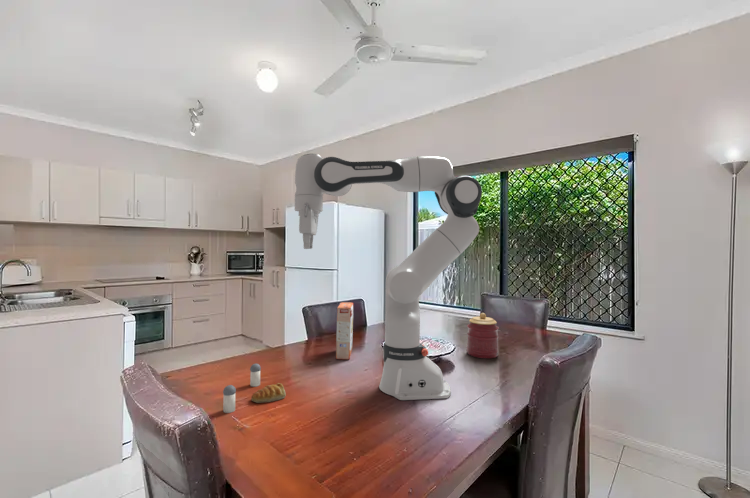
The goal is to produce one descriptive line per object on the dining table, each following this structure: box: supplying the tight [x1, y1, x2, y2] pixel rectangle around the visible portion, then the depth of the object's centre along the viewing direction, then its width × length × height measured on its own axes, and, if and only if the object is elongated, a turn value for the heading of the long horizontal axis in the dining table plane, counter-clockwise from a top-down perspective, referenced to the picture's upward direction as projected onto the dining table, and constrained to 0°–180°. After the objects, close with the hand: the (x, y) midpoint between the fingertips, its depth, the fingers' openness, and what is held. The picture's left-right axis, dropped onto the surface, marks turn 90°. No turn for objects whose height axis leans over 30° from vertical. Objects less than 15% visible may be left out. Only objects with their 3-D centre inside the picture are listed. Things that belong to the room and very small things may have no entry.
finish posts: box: [222, 363, 262, 414], centre depth 106 cm, size 3×21×7 cm, turn 177°
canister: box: [466, 312, 500, 359], centre depth 152 cm, size 13×13×18 cm
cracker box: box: [335, 301, 354, 361], centre depth 148 cm, size 14×6×21 cm, turn 179°
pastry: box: [250, 382, 287, 404], centre depth 105 cm, size 9×7×4 cm
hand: (308, 248), depth 114 cm, fingers open, 8 cm apart
